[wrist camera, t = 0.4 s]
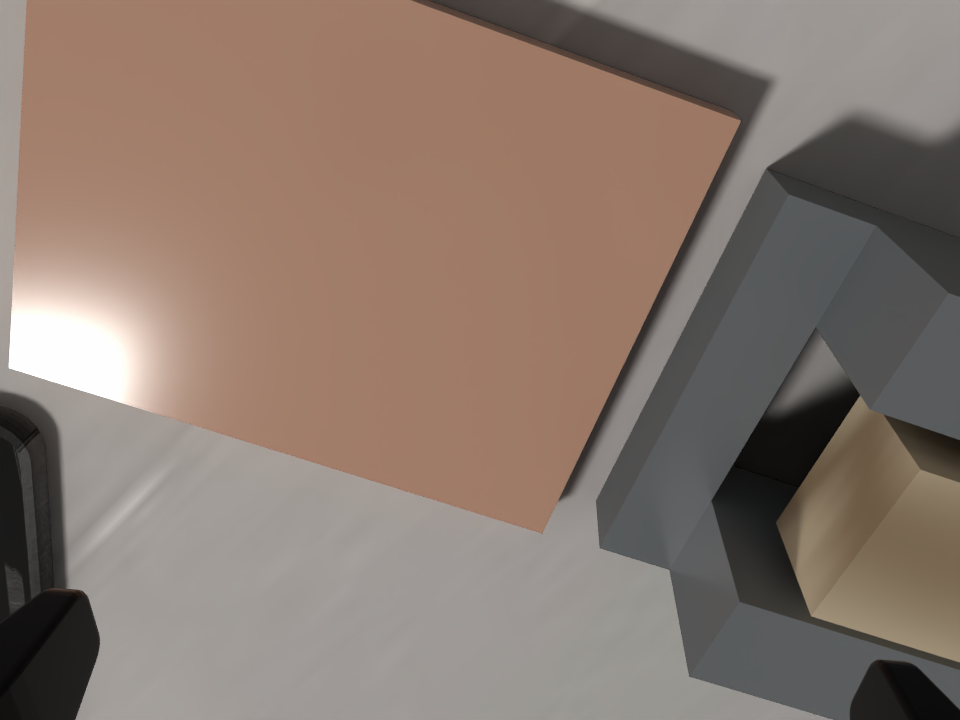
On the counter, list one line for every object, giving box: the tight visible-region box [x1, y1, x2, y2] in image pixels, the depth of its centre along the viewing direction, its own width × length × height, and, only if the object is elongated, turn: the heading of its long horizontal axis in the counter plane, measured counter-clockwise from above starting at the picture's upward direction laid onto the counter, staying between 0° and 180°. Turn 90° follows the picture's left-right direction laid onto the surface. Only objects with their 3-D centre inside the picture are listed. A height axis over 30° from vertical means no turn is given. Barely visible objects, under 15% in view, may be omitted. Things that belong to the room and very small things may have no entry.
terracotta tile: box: [9, 0, 741, 533], centre depth 20 cm, size 12×15×1 cm
